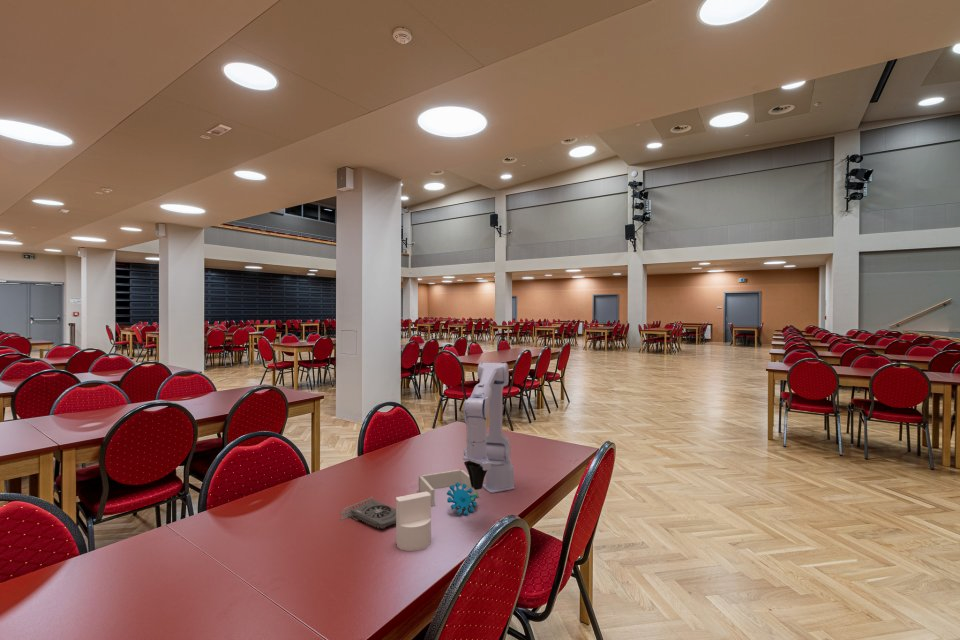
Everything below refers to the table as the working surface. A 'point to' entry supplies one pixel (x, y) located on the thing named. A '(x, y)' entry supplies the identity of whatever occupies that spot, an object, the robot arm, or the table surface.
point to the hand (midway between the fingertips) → (476, 487)
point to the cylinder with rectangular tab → (413, 521)
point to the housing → (444, 481)
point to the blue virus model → (462, 498)
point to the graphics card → (372, 513)
